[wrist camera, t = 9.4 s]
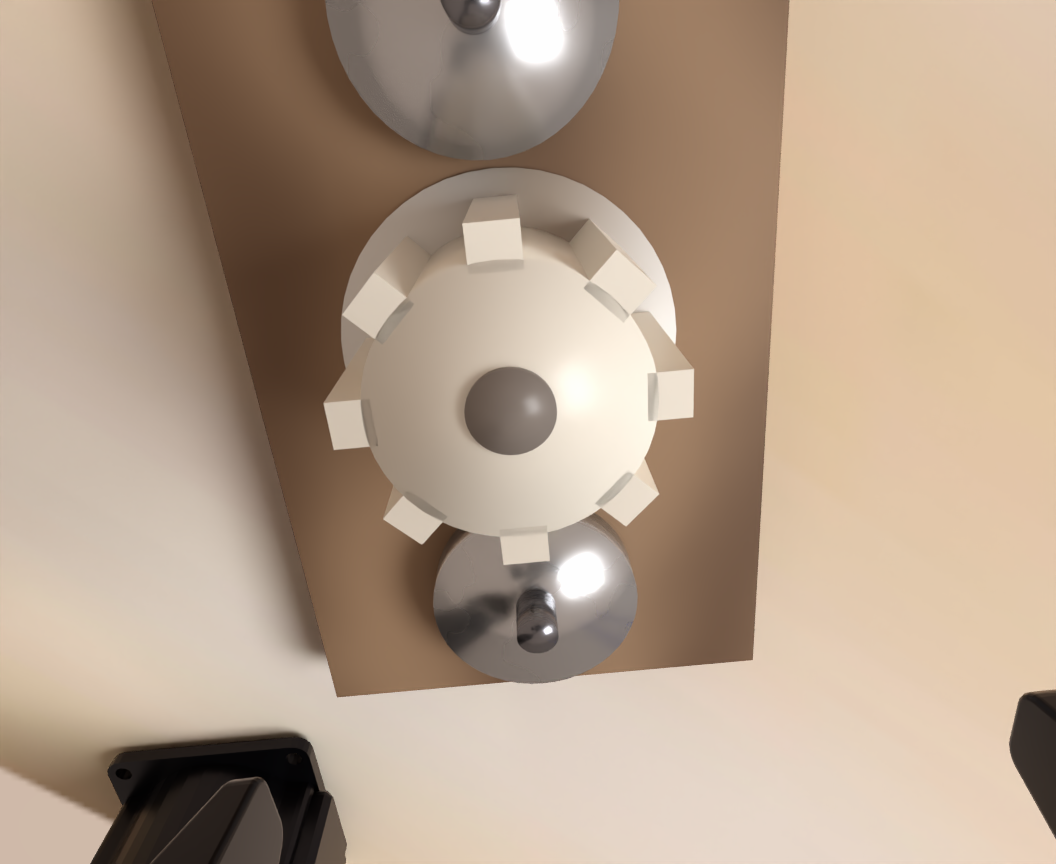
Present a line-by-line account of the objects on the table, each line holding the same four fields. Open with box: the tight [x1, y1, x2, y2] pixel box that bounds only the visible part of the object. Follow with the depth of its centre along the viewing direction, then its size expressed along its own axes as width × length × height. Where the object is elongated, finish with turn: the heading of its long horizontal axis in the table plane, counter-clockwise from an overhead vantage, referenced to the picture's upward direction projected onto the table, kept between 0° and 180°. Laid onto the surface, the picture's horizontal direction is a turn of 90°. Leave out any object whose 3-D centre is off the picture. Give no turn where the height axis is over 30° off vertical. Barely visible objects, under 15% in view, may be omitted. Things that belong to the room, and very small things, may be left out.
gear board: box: [152, 0, 789, 697], centre depth 16 cm, size 12×20×2 cm, turn 5°
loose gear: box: [323, 195, 694, 565], centre depth 14 cm, size 6×6×4 cm
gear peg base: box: [325, 0, 638, 684], centre depth 15 cm, size 5×18×2 cm, turn 5°
